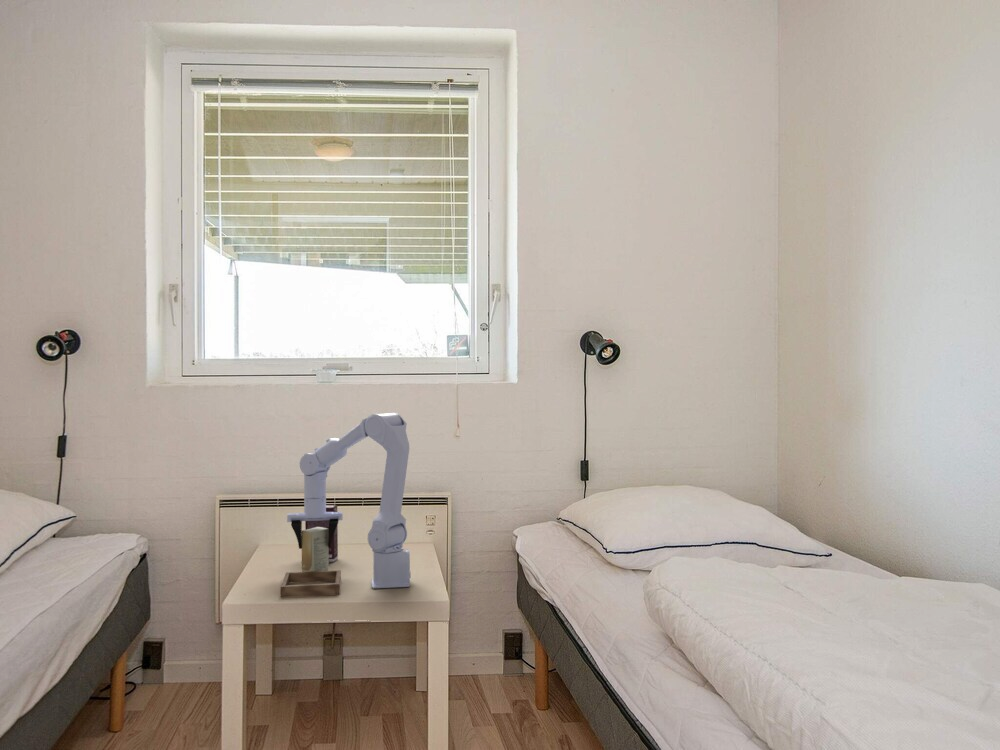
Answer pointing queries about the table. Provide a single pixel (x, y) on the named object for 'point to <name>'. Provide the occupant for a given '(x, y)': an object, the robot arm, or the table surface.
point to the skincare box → (315, 549)
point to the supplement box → (325, 524)
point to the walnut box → (311, 588)
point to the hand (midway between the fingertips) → (315, 547)
